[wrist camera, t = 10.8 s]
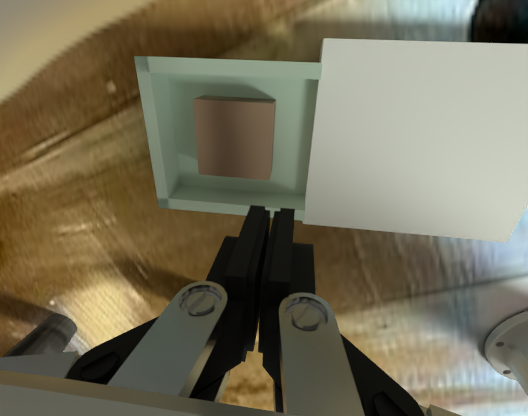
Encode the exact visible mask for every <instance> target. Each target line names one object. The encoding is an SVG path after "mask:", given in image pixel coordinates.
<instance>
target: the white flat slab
mask: <svg viewBox="0 0 528 416" xmlns="http://www.w3.org/2000/svg"><path fill="white" fill-rule="evenodd" d="M319 63H323V64H322V73H321V80H318V86H317V95H316V104H315V113H314V122H313V130H312V139H311V148H310V157H309V166H308V175H307V184H306V192H305V218H304V221H303V224H310V225H321V226H332V227H343V228H354V229H365V230H376V231H387V232H398V233H409V234H420V235H430V236H441V237H452V238H463V239H474V240H485V241H496V242H508V240H509V238H510V236H511V234H512V233H513V231H514V229H515V227H516V225H517V223H518V221H519V220H520V218H521V216H522V214H523V212H524V210H525V208H526V207H527V205H528V44H507V43H472V42H438V41H403V40H368V39H334V38H323V40H322V41H321V48H320V57H319Z"/></svg>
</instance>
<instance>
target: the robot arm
mask: <svg viewBox="0 0 528 416" xmlns="http://www.w3.org/2000/svg"><path fill="white" fill-rule="evenodd" d="M294 214H295V209H290V208H280V211H274V216H273V221H272V226H271V231H270V210H265V206H256V205H251V206H250V208H249V211H248V213H247V216H246V219H245V221H244V224H243V227H242V229H241V232H240V235H239V237H231V236H226V237H225V239H224V241H223V243H222V245H221V248H220V250H219V252H218V254H217V256H216V259H215V261H214V263H213V265H212V267H211V270H210V272H209V274H208V276H207V279H206V281H199V282H195V283H191V284H189V285H187V286H185V287H184V288H182V289H181V290H180V291H179V292H178V293H177V294H176V295H175V297H174V298H173V299H172V301H171V302H170V303H169V304H168V306H167V307H166V308H165V310H164V311H163V312H162V314H161V315H160V316H159V317H157V318H154V319H152V320H150V321H148V322H146V323H144V324H142V325H140V326H138V327H136V328H134V329H131V330H129V331H127V332H125V333H123V334H121V335H119V336H117V337H115V338H113V339H111V340H109V341H106V342H104V343H102V344H100V345H98V346H96V347H94V348H93V349H91V350H89V351H88V352H86V353H85V354H83V355H79V354H78V351H75V352H62V353H50V354H37V355H24V356H12V357H1V358H0V416H461V415H458V414H456V413H453V412H450V411H447V410H445V409H442V408H439V407H437V406H434V405H431V404H430V406H429V408H426V407H423V406H421V405H418V403H417V402H416V401H415V400H414V399H413V397H412V396H411V395H410V394H409V393H408V392H407V391H406V390H404V389H403V388H402V387H401V386H400V385H399V384H398V383H396V382H395V381H394V380H393V379H392V378H391V377H390V376H388V375H387V374H386V373H385V372H384V371H383V370H382V369H380V368H379V367H378V366H377V365H376V364H375V363H374V362H372V361H371V360H370V359H369V358H368V357H367V356H366V355H364V354H363V353H362V352H361V351H360V350H359V349H358V348H356V347H355V346H354V345H353V344H352V343H351V342H350V341H348V340H347V339H346V338H345V337H344V336H343V335H342V334H340V332H339V329H338V325H337V322H336V319H335V315H334V312H333V310H332V308H331V306H330V305H329V304H328V303H327V302H326V301H325V300H323V299H322V298H320V297H319V296H316V295H315V274H314V253H313V245H311V244H301V243H293V229H294ZM269 231H270V236H269ZM259 316H260V317H259ZM258 322H259V345H258V352H260V353H263V367H264V368H265V370H266V371H267V372H268V373H269V375H270V376H271V377H272V379H273V401H274V412H273V411H267V410H260V409H254V408H248V407H242V406H236V405H229V404H223V403H219V402H220V400H221V397H222V395H223V392H224V389H225V387H226V384H227V382H228V379H229V375H230V370H231V369H232V368H234V367H235V366H237V365H238V364H240V363H241V361H243V362H245V359H246V354H247V351H253V350H254V345H255V339H256V333H257V328H258ZM484 352H485V355H486V358H487V359H488V361H489V363H490V364H491V366H492V367H493V368H494V369H495V370H496V371H497V372H498V373H500V374H501V375H503V376H505V377H508V378H510V379H514V380H517V381H518V382H519V384H520V385H521V387H522V388H523V390H524V391H525V392H526V394H527V395H528V311H525V312H522V313H519V314H517V315H515V316H513V317H511V318H509V319H507V320H506V321H504V322H503V323H501V324H500V325H498V326H497V327H496V328H495V329H494V330H493V331H492V332H491V334H490V335H489V337H488V338H487V340H486V343H485V350H484Z"/></svg>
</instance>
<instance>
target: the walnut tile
mask: <svg viewBox="0 0 528 416" xmlns="http://www.w3.org/2000/svg"><path fill="white" fill-rule="evenodd" d="M193 104H194V118H195V131H196V144H197V157H198V171H199V174H200V175H211V176H223V177H235V178H247V179H258V180H269V179H270V176H271V172H272V163H273V145H274V128H275V110H276V99H258V98H241V97H224V96H207V95H203V96H200V97H197V98H194V99H193Z"/></svg>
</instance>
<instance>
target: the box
mask: <svg viewBox="0 0 528 416" xmlns="http://www.w3.org/2000/svg"><path fill="white" fill-rule="evenodd" d="M134 59H135V66H136V72H137V78H138V84H139V90H140V96H141V102H142V108H143V114H144V120H145V126H146V132H147V138H148V144H149V150H150V156H151V162H152V168H153V174H154V180H155V186H156V193H157V199H158V205H159V208H167V209H178V210H190V211H201V212H212V213H223V214H234V215H245V216H247V213H248V211H249V208H250V206H251V205H256V206H265V210H270V218H273V216H274V211H280V208H290V209H295V214H294V220H300V221H304V218H305V192H306V184H307V175H308V166H309V157H310V148H311V139H312V130H313V122H314V113H315V104H316V95H317V86H318V80H321V73H322V64H323V63H319V62H293V61H266V60H239V59H212V58H185V57H155V56H134ZM203 95H207V96H224V97H241V98H258V99H276V110H275V128H274V145H273V163H272V172H271V176H270V179H269V180H258V179H247V178H235V177H223V176H211V175H200V174H199V171H198V157H197V144H196V131H195V118H194V104H193V99H194V98H197V97H200V96H203Z"/></svg>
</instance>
